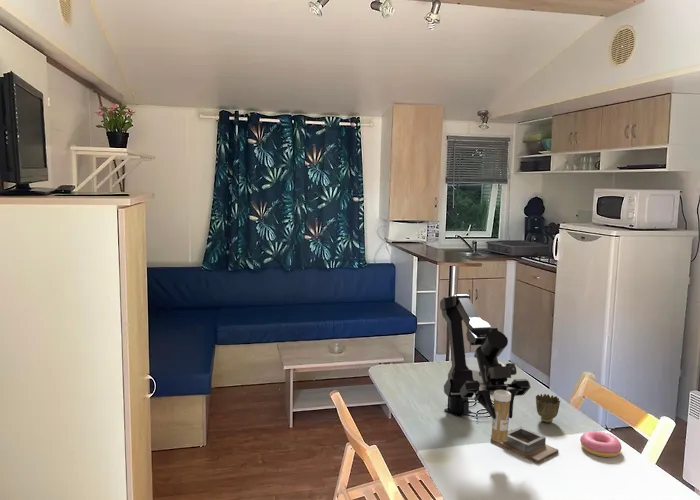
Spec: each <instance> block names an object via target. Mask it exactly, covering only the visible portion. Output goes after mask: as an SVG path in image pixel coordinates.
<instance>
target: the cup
mask: <svg viewBox="0 0 700 500" xmlns="http://www.w3.org/2000/svg"><path fill="white" fill-rule="evenodd" d="M560 404H561V400H560V398H559V397H558V396H554V395H553V394H552V395H549V394H546V393H544V394H542V393H541V394H536V395H535V405H536V406H535V407H536V413H537V415H539V416H540V420H541V422H542V423H545V424H552V423H553V420H554V418H556V417H557V416H558V414H559V409H560Z"/></svg>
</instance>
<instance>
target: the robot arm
mask: <svg viewBox="0 0 700 500" xmlns="http://www.w3.org/2000/svg"><path fill="white" fill-rule="evenodd" d="M439 308H440V310H441V316H442V317H443V318H444V320H445V322H447V328H448V329H447V331H448V337H449V338H448V339H449V348H450V360H451V367H450V370H449V371H448V373H447V380H446V381H445V383H444V384H443V392H444V394H445V395H446V397H447V407H446V408H444V412H446V413H449V414H451V415H452V416H455V417H458V418H460V417H463V416H465V415H467V414H470V413H472V412H471V410H470V408H469V407H470V401H469V399H471V398H473V399H474V401H478V403H479V404H480V405H481V406H482V407H483V408H484V409H485V410H486V412H487V413H488V414H489V415H490V417H491V418H493V419H495V418H496V415H495V411H494V408H493V407H494V403H493V401H492V399H491V393H494V391H495V390H506V391H508V392H510V393H511V400H510V407H509V419H512V418H513V410H514V401H515V400H514V399H515V397H517V396H520V397H521V396H524V395H526V393H527V392H528V391H529V390H530V389H531V388H532V387H531V384H530V381H529V380H528V378H515V379H513V380H512V382H511V383H506V382H507V381H508V379H511V378H512V376H514V375H515V376H516V375H517V367H516V364H515V363H514V362H509V363H505V366H502V365H501V364H499V363H498V361H499V360H498V357H499V356H500V355H501V354H502V353H503V352H504V350H505V349H506V347H507V346H508V343H509V340H508V337H507V336H506V334H505V333H503V332H501V331H499V329H498V327H492V326H491V324H489V323H488V321H485V320H484V319H482V318H481V317H480V315H479V313H478V312H477V311H478V310H476V308H475V307H474V304H473V303H472V301H471V296H470V295H469V294H467V293H464V294H463V293H461V294H460V293H459V294H458V293H457V294H454V295H451V296H443V298H442V299H440V301H439ZM463 322H464V325H465V326H466V334H465V335H466V339H467V341H468V342H469V345H471V346H478V347H477V348H476V349H475V351H474V354H473V355H474V356H473V357H475V358H477V362H478V366H479V370H480V372H479V376H481V377H482V381H483V385H481V384H479V382H478V381H474V379H473V372H472V370H469V368H468V367H467V366H466V351H465V340H464V339H465V338H464V332H463ZM474 395H475V396H474Z"/></svg>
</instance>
